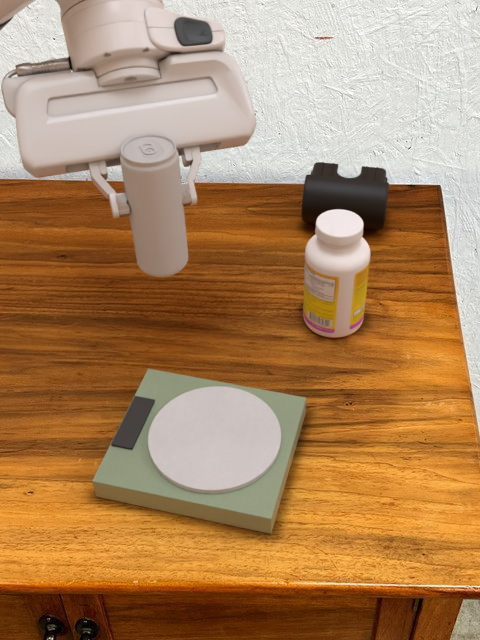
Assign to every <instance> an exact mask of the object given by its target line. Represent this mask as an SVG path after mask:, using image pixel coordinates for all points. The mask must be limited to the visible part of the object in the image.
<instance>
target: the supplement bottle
mask: <svg viewBox="0 0 480 640" xmlns="http://www.w3.org/2000/svg"><path fill="white" fill-rule="evenodd" d="M363 226H364V225H363V220H362V219H361V217H360V216H358V215H357V214H355V213H354V212H351V211H348V210H342V209H334V210H329V211H326V212H324V213H322V214H321V215H319V217H318V218H317V220H316V224H315V229H314V232H315V234H314V235H312V236H311V238H309V240H308V241H307V243H306V245H305V248H304V271H303V272H304V275H303V298H302V299H303V301H302V303H303V304H302V305H303V306H302V313H303V315H302V317H303V320H304V323H305V325H306V326H307V327H308V328H309V329H310V330H311V331H312V332H313V333H315V334H317V335H318V336H322V337H325V338H336V339H337V338H344V337H347V336H350V335H352V334H354V333H355V332H357V331H358V330H359V329H360V327H361V326H362V325H363V323H364V319H365V318H364V317H365V312H366V311H365V309H366V300H367V291H368V283H369V282H368V281H369V273H370V263H371V248H370V245H369V243H368V242H367V240H366V239H365V237H363V235H364V229H363Z"/></svg>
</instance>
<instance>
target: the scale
mask: <svg viewBox="0 0 480 640" xmlns="http://www.w3.org/2000/svg"><path fill="white" fill-rule="evenodd" d="M306 413H307V397H305V396H299V395H295V394H294V395H293V394H289V393H284V392H278V391H273V390H267V389H263V388H257V387H252V386H245V385H240V384H235V383H230V382H224V381H218V380H214V379H208V378H202V377H199V376H198V377H197V376H191V375H186V374H180V373H175V372H169V371H165V370H159V369H155V368H147V370H146V371H145V373H144V376H143V378H142V380H141V382H140V383H139V386H138V388H137V390H136V392H135V394H134V395H133V398H132V399H131V402H130V404H129V406H128V408H127V409H126V412H125V413H124V416H123V418H122V419H121V421H120V423H119V426H118V428H117V429H116V432H115V434H114V436H113V438H112V440H111V442H110V444H109V446H108V448H107V450H106V452H105V454H104V456H103V458H102V460H101V462H100V464H99V466H98V468H97V470H96V471H95V474H94V476H93V478H92V482H91V483H92V485H93V489H94V493H95V496H96V497H97V498H101V499H106V500H110V501H115V502H121V503H125V504H129V505H133V506H138V507H144V508H148V509H153V510H158V511H162V512H166V513H171V514H175V515H181V516H184V517H189V518H194V519H200V520H204V521H208V522H212V523H213V522H214V523H218V524H222V525H227V526H232V527H236V528H242V529H244V530H245V529H247V530H250V531H255V532H260V533H265V534H269V535H271V534H272V533H273V530H274V527H275V523H276V519H277V516H278V513H279V509H280V505H281V502H282V498H283V495H284V491H285V488H286V484H287V480H288V478H289V473H290V470H291V468H292V467H291V466H292V463H293V460H294V456H295V452H296V450H297V446H298V442H299V438H300V435H301V432H302V428H303V425H304V424H303V423H304V422H305V418H306Z"/></svg>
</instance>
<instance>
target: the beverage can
mask: <svg viewBox="0 0 480 640" xmlns="http://www.w3.org/2000/svg"><path fill="white" fill-rule="evenodd" d="M120 151H121V156H120V162H121V165H120V167H121V173H122V180H123V181H122V182H123V186H124V192H126V196H127V199H128V201H127V204H128V205H129V207H130V216H128V217H129V223H130V228H131V233H132V238H133V239H132V240H133V246H134V251H135V258H136V265H137V267H138V268H139V269H140V270H141V271H142V272H144V273H145V274H146V275H148V276H151V277H155V278H167V277H171V276H174V275H176V274H178V273H180V272H181V271H182V270H183V269H184V268H185V267H186V265H187V263H188V261H189V247H188V237H187V236H188V235H187V225H186V215H185V206H183V204H182V183H183V182H182V173H181V164H180V156H179V154H178V151H177V149H176V144H175V142H174V141H173V140H172V139H170V138H169V137H167V136H163V135H159V134H143V135H138V136H135V137H132V138H130V139H128V140H127V141H125V142H124V143H123V145H122V146H121V150H120Z"/></svg>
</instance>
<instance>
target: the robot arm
mask: <svg viewBox="0 0 480 640" xmlns="http://www.w3.org/2000/svg"><path fill="white" fill-rule="evenodd" d="M35 1H36V0H0V31H2V30H3V29H4V27H6V26H7V25H8V24H9V23H10V22H11V21H12V19H13V18H14V17H15V16H16V15H17V14H19V13H20V12H21V11H23V10H24V9H25V8H27V7H28V6H29V5H31V4H32V3H34V2H35ZM54 1H55V2H56V3H57V4H58V6H59V9H60V11H59V12H60V15H59V16H60V22H61V26H62V27H61V28H62V31H63V36H64V41H65V45H66V48H67V49H66V50H67V54H68V56H67V57H60V58H53V59H52V58H51V59H47V60H44V61H40V62H39V61H38V62H21V63H18V64H15V66H14V67H15V68H13V69H12V70H10V71H8V72H7V73H6V74H5V76H4V77H3V78H2V80H1V85H0V86H1V87H0V88H1V90H0V91H1V94H2V98H3V103H4V107H5V109H6V111H7V113H9V115H10V116H11V117H13V118H14V119H15V129H16V137H17V138H16V139H17V146H18V150H19V156H20V160H21V164H22V167H23V169H24V170H25V171H26V172H27V173H28V174H29V175H31V176H32V177H34V178H36V179H39V178H40V179H41V178H47V177H53V176H60V175H67V174H73V173H79V172H85V171H89V175H90V180H91V183H92V184H93V186H95V187H96V188H97V190H98V191H99V192H100V193H101V194H102V195H103V196H104V198H106V200H108V201H109V207H110V209H111V215H112V218H113V219H120V218H126V217H129V216H130V207H129V205H128V204H127V201H128V199H127V196H126V192H125V191H124V192H118V193H117V192H116V190H115V189H114V188H113V187H112V186H111V185H110V183H108V181H107V180H108V179H109V178H108V177H109V175H108V174H109V172H108V168H110V167H111V168H112V167H117V166H121V162H120V156H121V151H120V150H121V146H122V145H123V143H124V142H125V141H127V140H128V139H130V138H132V137H135V136H138V135H143V134H159V135H163V136H167V137H169V138H170V139H172V140H173V141H174V142H175V144H176V149H177V151H178V154H179V157H180V158H181V162H182V166H183V167H184V168H187V167H188V168H189V170H188V172H187V175H186V179H185V182H181V183H182V204H183V206H184V207H189V206H196V205H197V203H198V195H197V190H196V186H195V181H196V178H197V176H198V172H199V170H200V166H201V163H202V159H203V157H202V153H206V152H212V151H219V150H225V149H233V148H239V147H244V146H245V145H247V143H249V141H250V140H251V138H252V137H253V135H254V133H255V131H256V129H257V118H256V113H255V108H254V105H253V102H252V98H251V94H250V91H249V89H248V86H247V82H246V79H245V78H244V74H243V72H242V69H241V68H240V66H239V64H238V62H237V60H235V58H234V57H233V56H231V55H230V54H228V53H226V52H225V47H226V34H225V32H226V31H225V29H224V27H223V25H222V24H221V23H220V22H219V21H216V20H212V19H208V18H203V17H199V16H193V15H188V14H184V13H179V12H175V11H171V10H168V9H165V3H164V2H163V0H54ZM15 75H17V76H15Z"/></svg>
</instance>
